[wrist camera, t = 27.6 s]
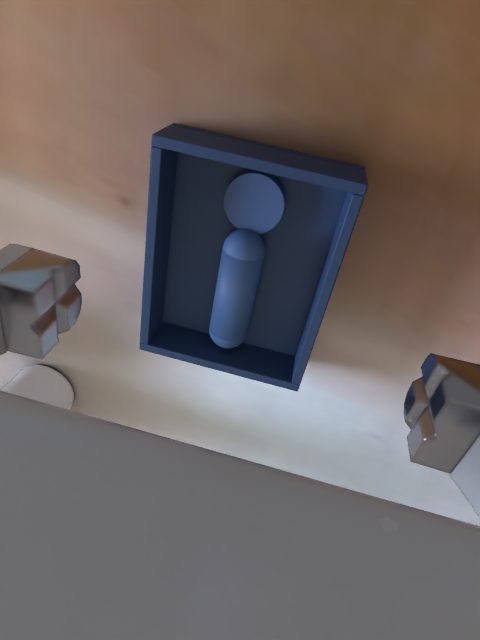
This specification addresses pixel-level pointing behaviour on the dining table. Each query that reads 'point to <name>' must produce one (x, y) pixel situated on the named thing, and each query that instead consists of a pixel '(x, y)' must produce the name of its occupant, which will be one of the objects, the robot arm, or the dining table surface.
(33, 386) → the drinking glass
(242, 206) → the blue spoon
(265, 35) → the dining table surface
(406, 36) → the dining table surface
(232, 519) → the robot arm
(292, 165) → the blue bin
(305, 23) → the dining table surface
